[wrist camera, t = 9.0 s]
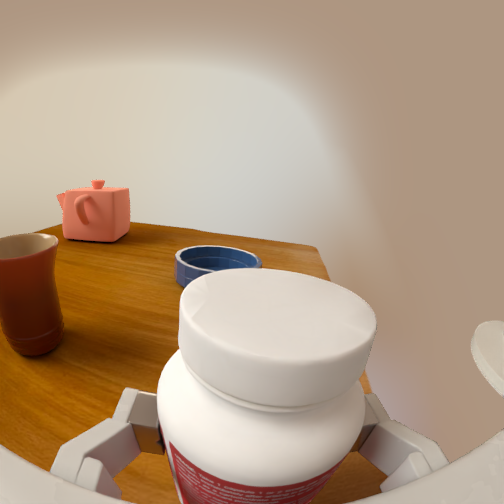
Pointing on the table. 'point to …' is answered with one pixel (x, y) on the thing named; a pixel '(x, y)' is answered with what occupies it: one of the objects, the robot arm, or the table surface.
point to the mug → (30, 293)
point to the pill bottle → (263, 386)
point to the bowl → (210, 261)
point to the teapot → (95, 212)
